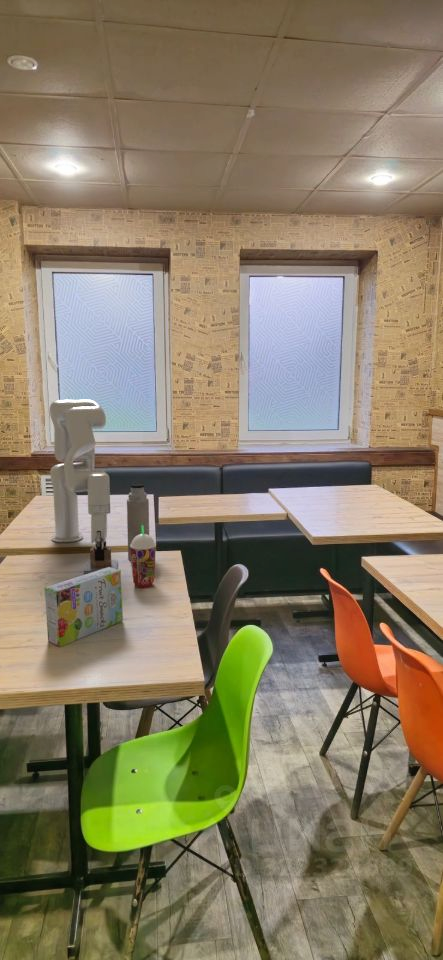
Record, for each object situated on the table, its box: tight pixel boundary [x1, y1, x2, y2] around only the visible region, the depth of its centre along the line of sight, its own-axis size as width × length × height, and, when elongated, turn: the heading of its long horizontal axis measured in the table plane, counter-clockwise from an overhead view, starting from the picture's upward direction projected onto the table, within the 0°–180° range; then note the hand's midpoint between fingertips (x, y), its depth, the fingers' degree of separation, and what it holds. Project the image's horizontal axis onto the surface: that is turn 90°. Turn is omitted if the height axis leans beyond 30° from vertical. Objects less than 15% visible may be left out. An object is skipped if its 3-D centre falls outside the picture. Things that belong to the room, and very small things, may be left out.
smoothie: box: [130, 526, 157, 589], centre depth 195 cm, size 8×8×20 cm
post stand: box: [83, 559, 119, 575], centre depth 212 cm, size 11×11×6 cm
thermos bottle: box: [126, 483, 150, 561], centre depth 223 cm, size 8×8×28 cm
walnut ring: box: [89, 545, 112, 569], centre depth 212 cm, size 7×7×6 cm
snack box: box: [44, 567, 124, 648], centre depth 161 cm, size 21×6×15 cm, turn 141°
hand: (100, 556), depth 212 cm, fingers open, 9 cm apart
